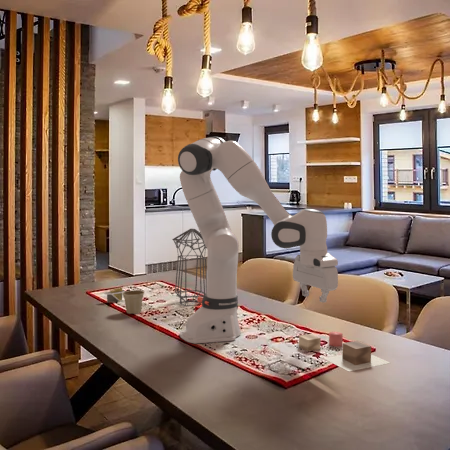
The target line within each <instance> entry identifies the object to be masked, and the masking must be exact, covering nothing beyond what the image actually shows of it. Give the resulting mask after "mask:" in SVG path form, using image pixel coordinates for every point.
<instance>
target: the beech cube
mask: <svg viewBox="0 0 450 450" xmlns="http://www.w3.org/2000/svg"><path fill="white" fill-rule="evenodd" d="M298 336H299V337H298V347H299V348H300V349H302V350H304V351H306V352H312V351H317V350H321V337H319V336H318V335H315V334H313V333H310V334H309V333H308V334H301V335H298Z"/></svg>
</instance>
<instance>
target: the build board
mask: <svg viewBox="0 0 450 450" xmlns="http://www.w3.org/2000/svg"><path fill="white" fill-rule="evenodd" d="M342 355H343V354H338V355H333V356H328V357H323V359H324V360H325V361H327V362H330V363H331V364H334V365H335V366H337V367H339V368H341V369H343V370H345V371H347V372H350V373H351V372H354V371H359V370H363V369H369V368H373V367H378V366H383V365H387V364H391V362H389V361H387V360H385V359H382V358H381V357H378V356H376V355H374V354H372V353H371V362H369V363H364V364H360V365H354V364H352V363H350V362H348V361H346V360H344V359H342Z"/></svg>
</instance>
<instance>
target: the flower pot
mask: <svg viewBox="0 0 450 450" xmlns="http://www.w3.org/2000/svg"><path fill="white" fill-rule="evenodd" d="M124 291H125V290H124ZM144 294H145V291H143V290H135V289H134V290H133V289H131V290H126V291H125V292H123V293H122V297H123V298H124V305H125V310H126V313H127V314H129V315H131V314H134V315H136V314H140V313H141V312H142V307H143V298H144Z"/></svg>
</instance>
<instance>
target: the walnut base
mask: <svg viewBox="0 0 450 450" xmlns="http://www.w3.org/2000/svg"><path fill="white" fill-rule="evenodd" d="M371 354H372V346H371V345H369V344H367V343H365V342H362V341H360V340H354V341H353V340H352V341H348V342H342V354H341V355H342V359H344V360H346V361H348V362H350V363H352V364H354V365H360V364H364V363H369V362H371Z"/></svg>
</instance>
